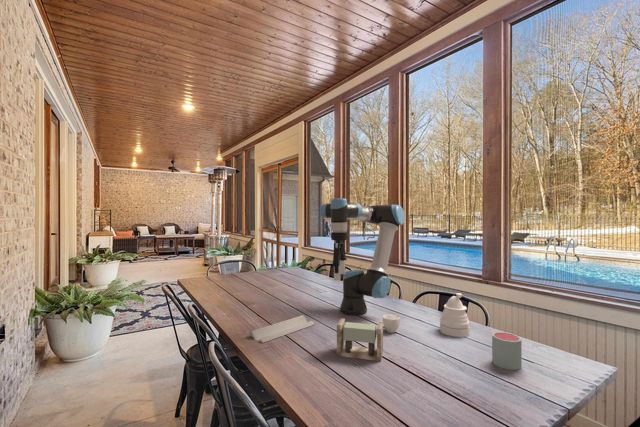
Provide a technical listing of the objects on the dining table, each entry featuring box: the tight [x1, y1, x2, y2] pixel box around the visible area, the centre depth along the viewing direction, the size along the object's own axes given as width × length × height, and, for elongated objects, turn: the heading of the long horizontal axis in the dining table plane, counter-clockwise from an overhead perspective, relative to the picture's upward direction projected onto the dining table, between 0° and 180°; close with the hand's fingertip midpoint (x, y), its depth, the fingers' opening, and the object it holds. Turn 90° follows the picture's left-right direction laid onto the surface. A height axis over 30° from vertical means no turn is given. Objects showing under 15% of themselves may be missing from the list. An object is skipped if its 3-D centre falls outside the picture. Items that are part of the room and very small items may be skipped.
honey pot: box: [439, 292, 471, 338], centre depth 147 cm, size 13×13×18 cm
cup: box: [382, 313, 401, 334], centre depth 149 cm, size 8×10×7 cm
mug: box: [491, 331, 523, 371], centre depth 117 cm, size 14×9×10 cm
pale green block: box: [344, 321, 377, 344], centre depth 123 cm, size 12×6×5 cm, turn 75°
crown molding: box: [247, 314, 315, 344], centre depth 149 cm, size 31×12×4 cm, turn 136°
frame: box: [336, 317, 384, 362], centre depth 123 cm, size 17×8×12 cm, turn 74°
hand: (339, 277), depth 146 cm, fingers open, 13 cm apart
